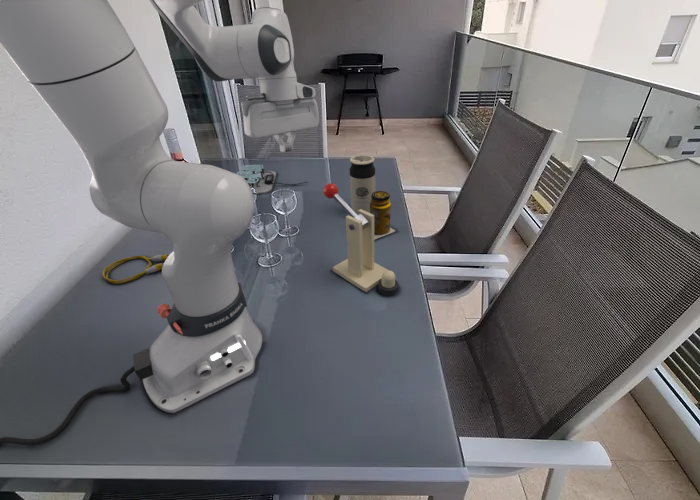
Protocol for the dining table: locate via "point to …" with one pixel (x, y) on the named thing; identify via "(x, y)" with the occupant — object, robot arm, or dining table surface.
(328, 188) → the switch lever
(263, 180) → the neon sign
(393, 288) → the pilot lamp
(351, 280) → the switch bracket
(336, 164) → the dining table surface
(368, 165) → the travel mug
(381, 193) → the condiment
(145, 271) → the extension cord
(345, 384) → the dining table surface
